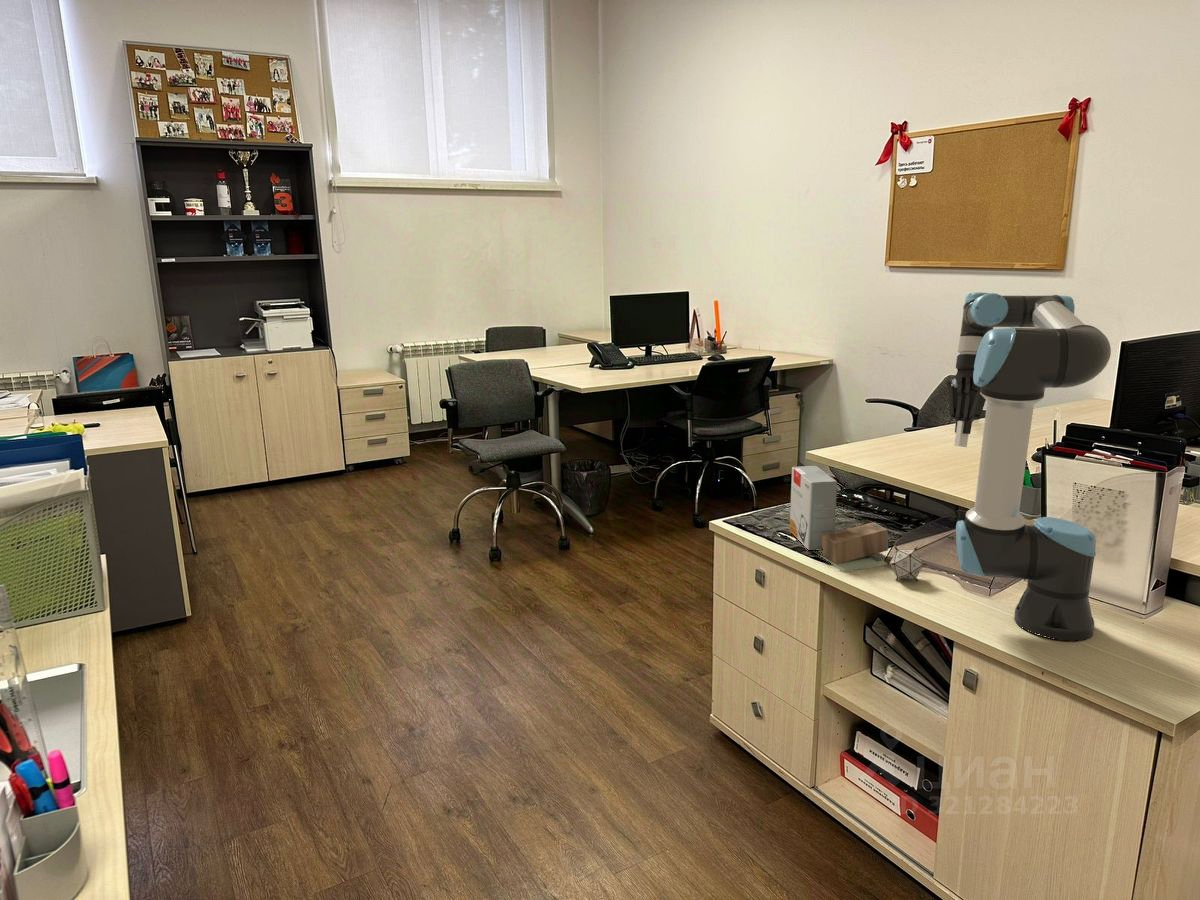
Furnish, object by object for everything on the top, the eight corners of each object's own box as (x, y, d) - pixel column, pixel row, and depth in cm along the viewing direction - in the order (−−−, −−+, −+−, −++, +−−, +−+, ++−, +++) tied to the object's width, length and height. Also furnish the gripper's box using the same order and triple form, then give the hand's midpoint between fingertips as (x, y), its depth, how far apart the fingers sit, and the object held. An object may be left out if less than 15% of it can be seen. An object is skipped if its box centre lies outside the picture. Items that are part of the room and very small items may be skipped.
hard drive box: (788, 532, 235) (791, 466, 230) (813, 530, 235) (817, 465, 230) (807, 551, 220) (810, 481, 215) (834, 550, 220) (838, 480, 216)
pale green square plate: (887, 564, 210) (887, 559, 209) (844, 572, 206) (844, 566, 205) (854, 546, 223) (855, 541, 222) (813, 553, 219) (813, 547, 218)
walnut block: (887, 529, 212) (834, 543, 208) (888, 550, 214) (835, 564, 210) (873, 522, 218) (821, 535, 214) (874, 542, 219) (822, 556, 215)
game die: (907, 590, 203) (927, 556, 204) (917, 592, 195) (938, 557, 195) (875, 570, 205) (896, 537, 205) (884, 571, 196) (905, 537, 197)
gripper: (1005, 356, 201) (992, 450, 203) (964, 356, 213) (951, 445, 215) (983, 352, 198) (969, 447, 200) (942, 353, 210) (930, 442, 212)
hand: (960, 446), depth 207 cm, fingers closed
